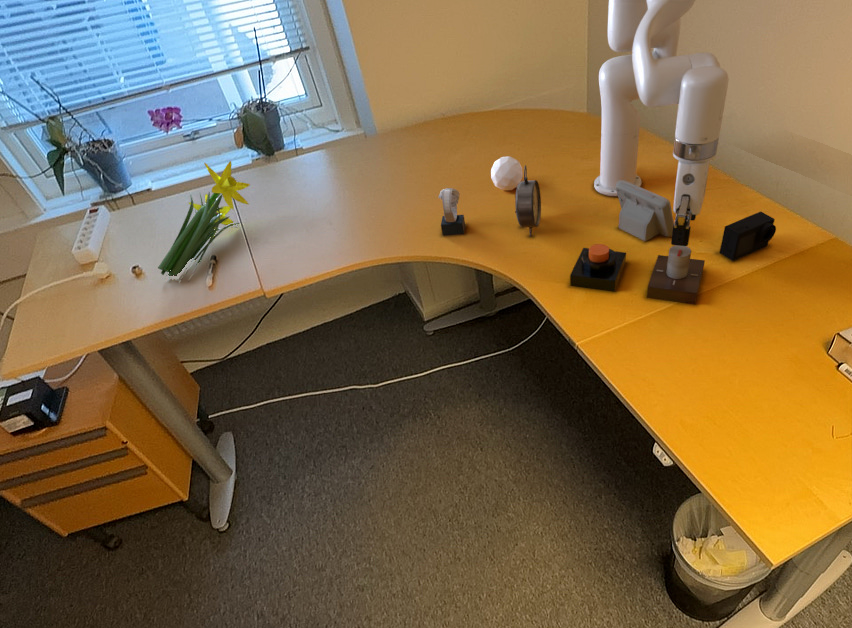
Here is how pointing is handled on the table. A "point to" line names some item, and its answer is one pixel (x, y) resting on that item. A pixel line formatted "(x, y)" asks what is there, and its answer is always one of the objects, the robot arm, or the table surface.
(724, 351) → the table surface
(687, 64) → the robot arm
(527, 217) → the alarm clock
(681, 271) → the dial
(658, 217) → the digital clock
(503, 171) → the white faceted rounded piece
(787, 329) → the table surface
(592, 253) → the button
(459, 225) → the watch
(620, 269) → the button box
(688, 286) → the dial panel
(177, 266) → the daffodil flowers
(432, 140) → the table surface
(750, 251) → the digital camera
